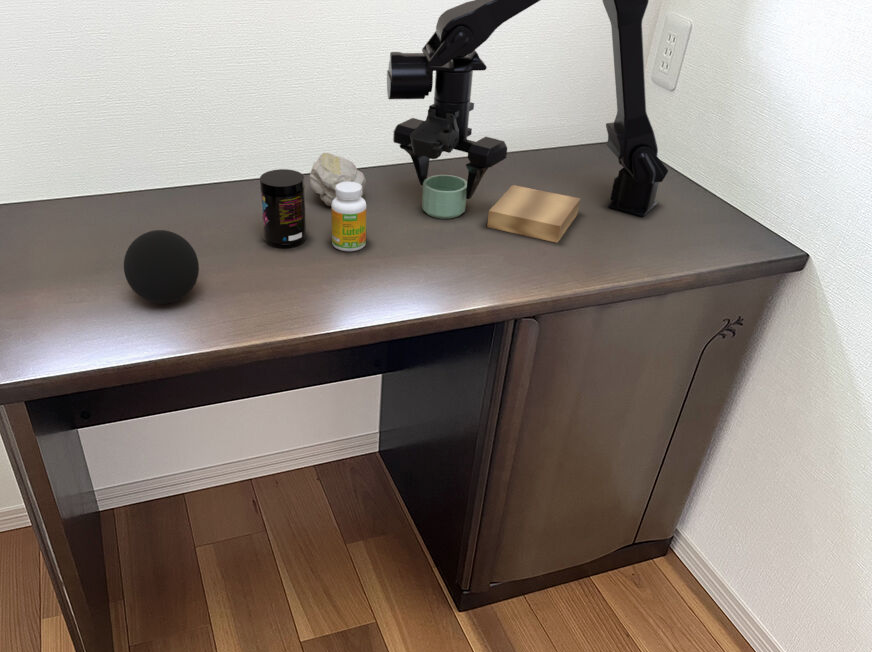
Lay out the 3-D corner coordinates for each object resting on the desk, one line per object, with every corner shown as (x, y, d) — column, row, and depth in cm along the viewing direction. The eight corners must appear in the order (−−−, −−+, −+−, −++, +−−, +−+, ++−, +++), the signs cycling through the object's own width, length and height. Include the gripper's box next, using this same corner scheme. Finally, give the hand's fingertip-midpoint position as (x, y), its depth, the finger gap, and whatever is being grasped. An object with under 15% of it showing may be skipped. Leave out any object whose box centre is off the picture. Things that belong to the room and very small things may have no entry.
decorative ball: (216, 299, 113) (209, 234, 107) (155, 325, 107) (143, 259, 101) (176, 273, 118) (167, 211, 112) (116, 297, 113) (103, 233, 107)
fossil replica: (350, 184, 146) (300, 198, 143) (344, 139, 141) (293, 152, 138) (380, 204, 137) (328, 219, 134) (376, 157, 132) (321, 171, 129)
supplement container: (288, 226, 131) (285, 165, 125) (315, 240, 127) (313, 178, 121) (255, 238, 128) (250, 176, 121) (281, 253, 124) (277, 190, 117)
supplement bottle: (341, 255, 124) (340, 196, 118) (326, 240, 127) (325, 183, 121) (371, 248, 126) (372, 189, 120) (356, 234, 129) (356, 177, 124)
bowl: (473, 209, 138) (475, 181, 135) (450, 224, 133) (452, 195, 130) (437, 198, 141) (439, 171, 138) (413, 212, 136) (415, 184, 133)
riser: (577, 214, 136) (580, 198, 134) (557, 243, 128) (560, 226, 126) (510, 200, 141) (512, 184, 139) (486, 227, 132) (488, 210, 130)
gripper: (374, 98, 125) (372, 192, 134) (477, 124, 116) (467, 223, 125) (414, 82, 132) (410, 172, 141) (514, 105, 123) (502, 200, 132)
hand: (445, 191), depth 135 cm, fingers open, 9 cm apart
